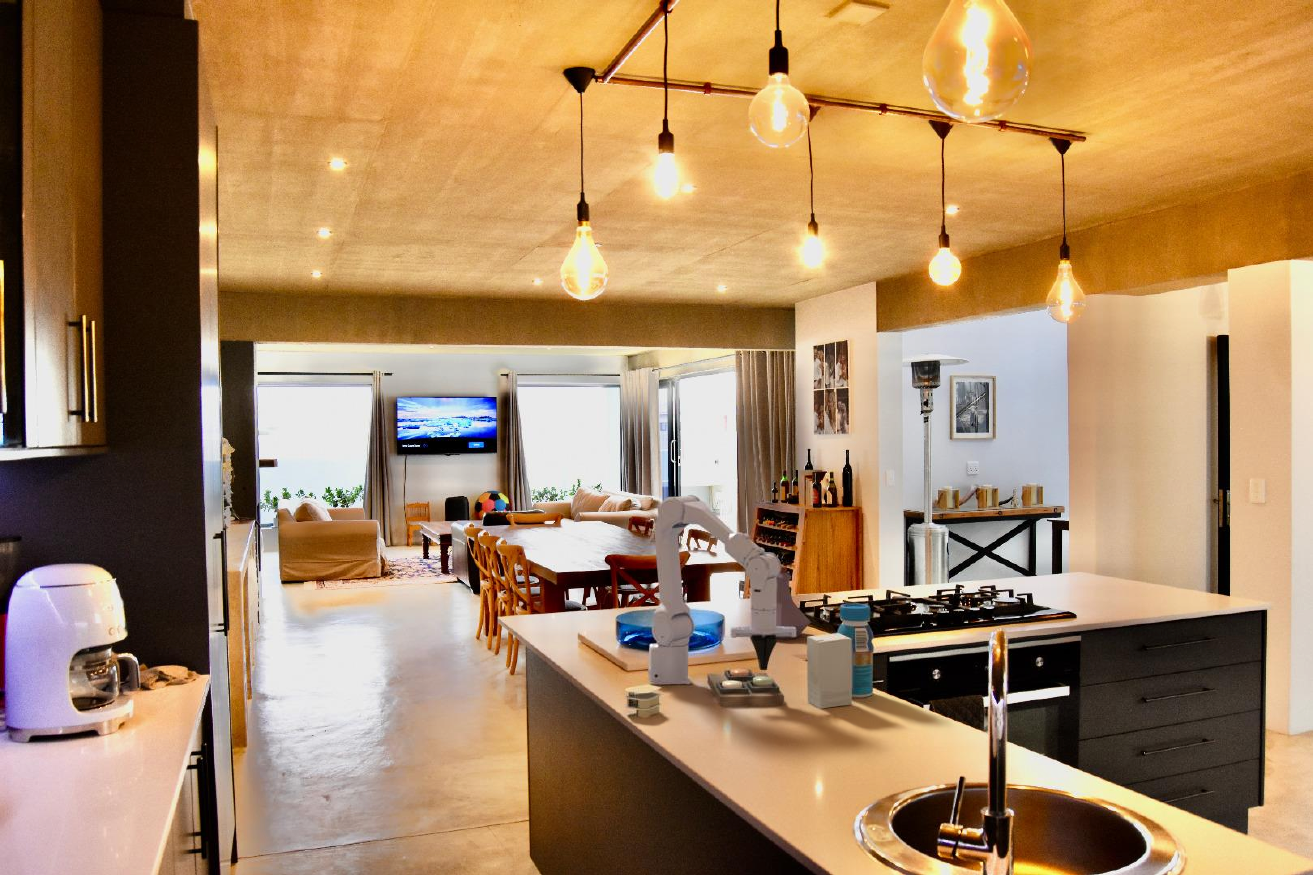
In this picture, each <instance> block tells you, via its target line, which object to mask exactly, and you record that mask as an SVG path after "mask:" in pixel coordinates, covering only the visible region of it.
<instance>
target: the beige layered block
mask: <svg viewBox="0 0 1313 875" xmlns="http://www.w3.org/2000/svg"><path fill="white" fill-rule="evenodd" d="M659 689H662V687H661V686H656V685H653V684H642V685H636V686H630V687H629V686H628V687H626V688H624V691H626V692H628V693H627V694H624V698H625V699H626V703H625V704H624V707H625V708H626V709H630V710H636V714H637V717H639V718H649V717H651V715H655V714H659V713H660V706H662V703H661V702H660V696H662V693H660V692H656V691H657V690H659Z"/></svg>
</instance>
